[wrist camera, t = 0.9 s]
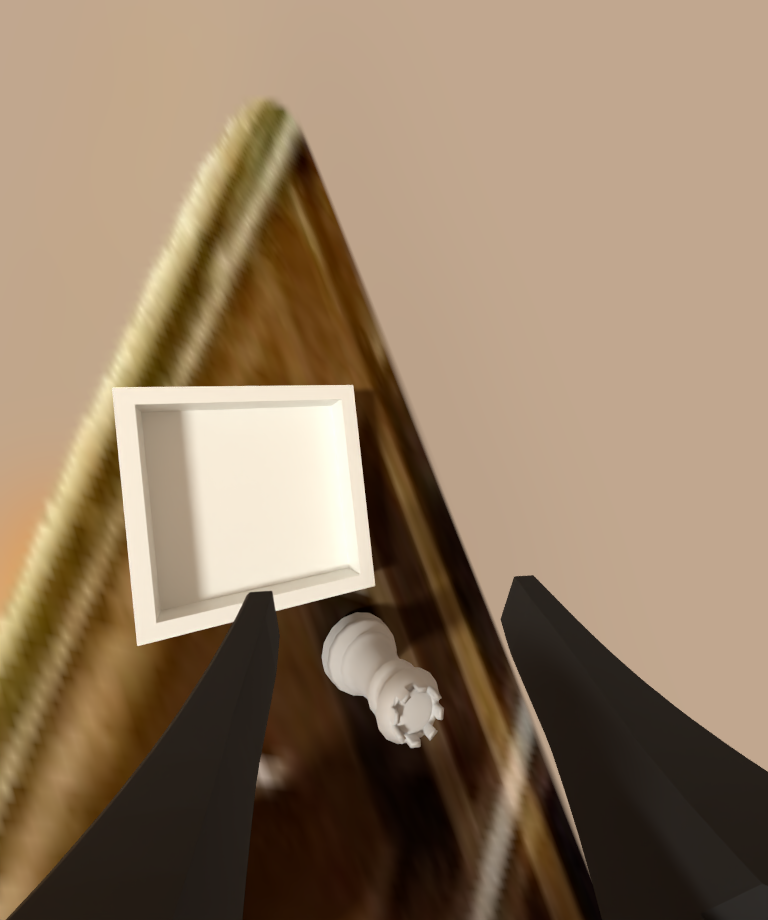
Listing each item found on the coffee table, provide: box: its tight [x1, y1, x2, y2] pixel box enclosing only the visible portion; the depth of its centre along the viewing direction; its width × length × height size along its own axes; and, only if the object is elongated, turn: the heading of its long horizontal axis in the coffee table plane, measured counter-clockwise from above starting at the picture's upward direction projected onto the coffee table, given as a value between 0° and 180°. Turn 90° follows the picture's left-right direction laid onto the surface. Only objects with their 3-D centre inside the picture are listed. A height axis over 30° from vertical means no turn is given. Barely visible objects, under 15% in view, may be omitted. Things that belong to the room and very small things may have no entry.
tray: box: [112, 385, 375, 646], centre depth 21 cm, size 12×12×2 cm
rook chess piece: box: [322, 612, 444, 748], centre depth 20 cm, size 4×4×8 cm
